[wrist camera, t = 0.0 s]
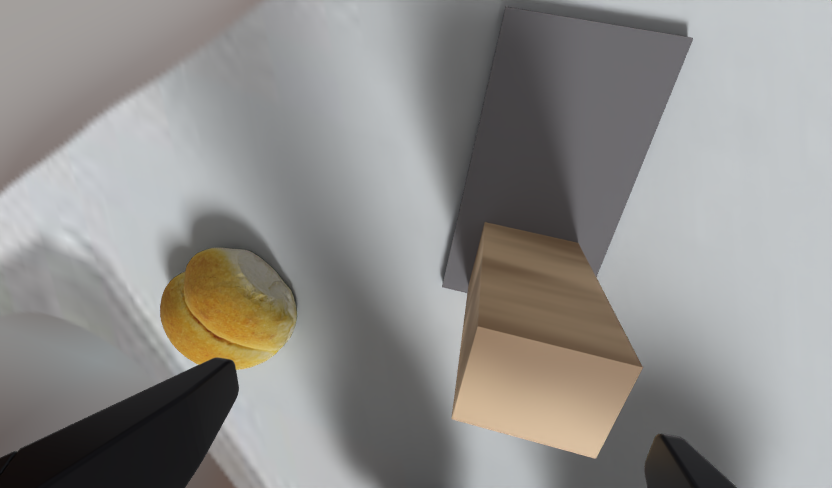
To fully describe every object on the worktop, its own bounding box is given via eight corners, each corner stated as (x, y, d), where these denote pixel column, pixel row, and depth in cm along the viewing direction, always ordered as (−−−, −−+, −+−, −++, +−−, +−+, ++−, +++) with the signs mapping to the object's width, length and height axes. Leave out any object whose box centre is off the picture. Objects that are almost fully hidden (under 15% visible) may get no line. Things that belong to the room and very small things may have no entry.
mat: (577, 315, 23) (578, 320, 23) (443, 283, 24) (441, 287, 23) (688, 39, 17) (693, 38, 17) (505, 8, 18) (505, 6, 18)
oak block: (554, 306, 22) (595, 458, 13) (468, 285, 23) (451, 419, 14) (578, 242, 21) (642, 367, 12) (484, 222, 21) (477, 326, 12)
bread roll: (163, 294, 29) (115, 325, 25) (232, 222, 25) (188, 245, 22) (247, 372, 30) (212, 412, 26) (323, 313, 27) (295, 350, 23)
